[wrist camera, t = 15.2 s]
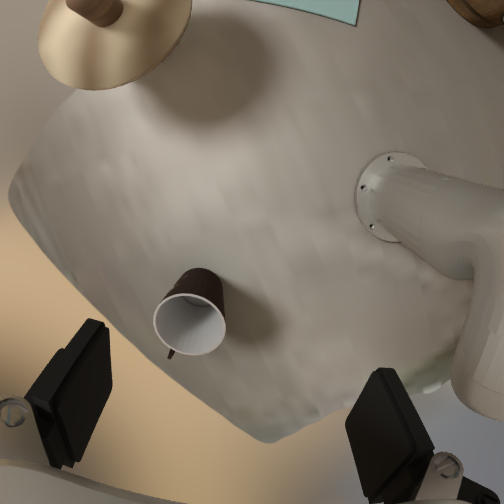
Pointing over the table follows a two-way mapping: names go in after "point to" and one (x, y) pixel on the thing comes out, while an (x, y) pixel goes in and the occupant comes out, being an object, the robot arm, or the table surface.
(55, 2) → the maple lid
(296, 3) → the rubber mat
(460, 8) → the wooden container
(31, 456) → the robot arm
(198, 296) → the coffee mug
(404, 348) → the table surface
